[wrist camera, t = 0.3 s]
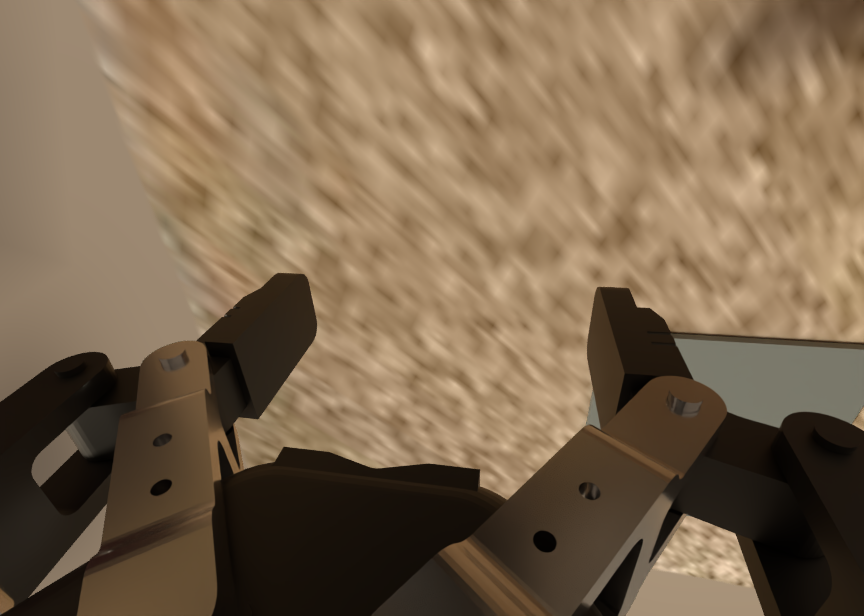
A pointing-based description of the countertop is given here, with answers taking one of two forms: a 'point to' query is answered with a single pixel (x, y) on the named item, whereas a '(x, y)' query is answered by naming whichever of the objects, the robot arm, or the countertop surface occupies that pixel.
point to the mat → (774, 376)
